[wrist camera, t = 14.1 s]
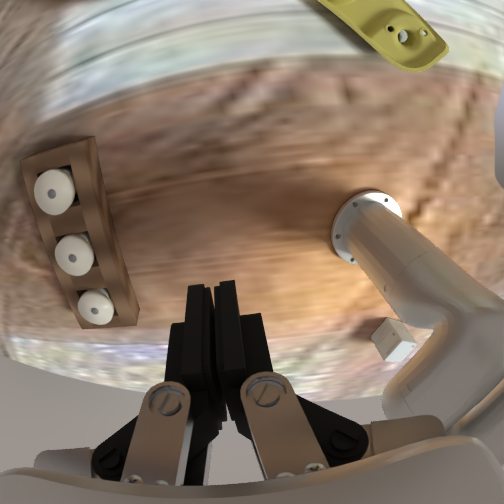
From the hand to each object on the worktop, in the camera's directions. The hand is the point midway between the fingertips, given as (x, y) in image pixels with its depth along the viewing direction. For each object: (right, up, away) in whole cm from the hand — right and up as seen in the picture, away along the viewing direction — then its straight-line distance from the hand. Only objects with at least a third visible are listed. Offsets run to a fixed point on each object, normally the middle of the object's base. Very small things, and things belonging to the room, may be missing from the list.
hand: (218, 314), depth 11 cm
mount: (-23, +4, +28) cm, 36 cm away
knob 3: (-22, -4, +32) cm, 39 cm away
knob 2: (-23, +4, +27) cm, 36 cm away
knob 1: (-23, +12, +23) cm, 35 cm away
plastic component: (+17, +35, +17) cm, 42 cm away
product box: (+31, -14, +49) cm, 59 cm away
